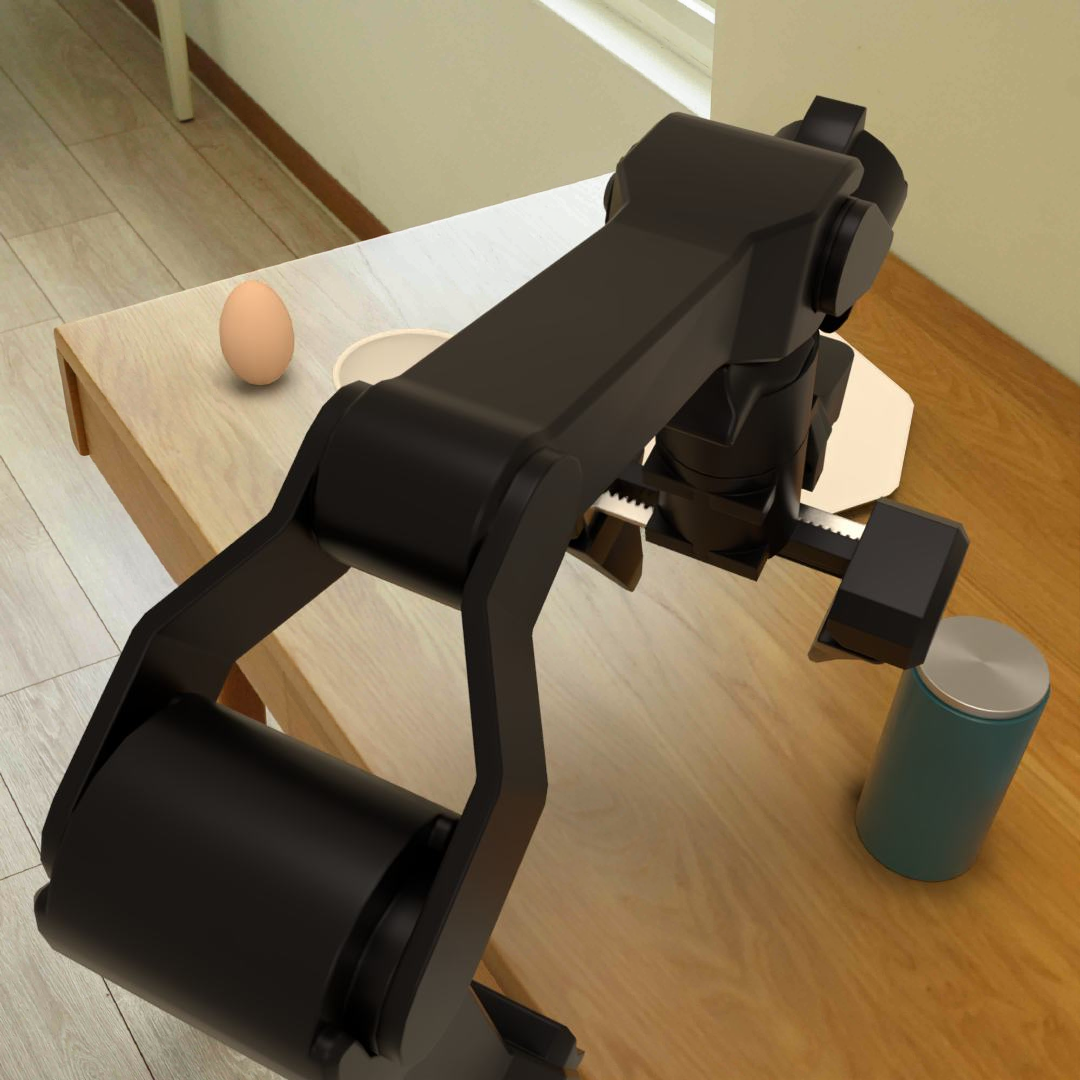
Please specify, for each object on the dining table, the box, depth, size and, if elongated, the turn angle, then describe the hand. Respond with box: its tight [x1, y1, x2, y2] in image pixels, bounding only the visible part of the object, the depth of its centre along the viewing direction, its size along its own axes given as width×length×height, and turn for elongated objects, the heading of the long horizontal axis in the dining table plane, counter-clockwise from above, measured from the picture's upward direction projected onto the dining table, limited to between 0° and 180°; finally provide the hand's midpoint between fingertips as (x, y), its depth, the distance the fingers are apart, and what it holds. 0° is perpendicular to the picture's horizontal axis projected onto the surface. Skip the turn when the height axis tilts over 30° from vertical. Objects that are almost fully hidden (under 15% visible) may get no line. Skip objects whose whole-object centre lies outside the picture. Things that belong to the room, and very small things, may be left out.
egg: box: [218, 279, 295, 386], centre depth 97 cm, size 5×5×8 cm
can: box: [855, 615, 1051, 882], centre depth 68 cm, size 7×7×13 cm
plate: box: [642, 330, 915, 515], centre depth 98 cm, size 28×28×2 cm
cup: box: [331, 328, 455, 392], centre depth 86 cm, size 10×10×11 cm
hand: (723, 617), depth 63 cm, fingers open, 9 cm apart
